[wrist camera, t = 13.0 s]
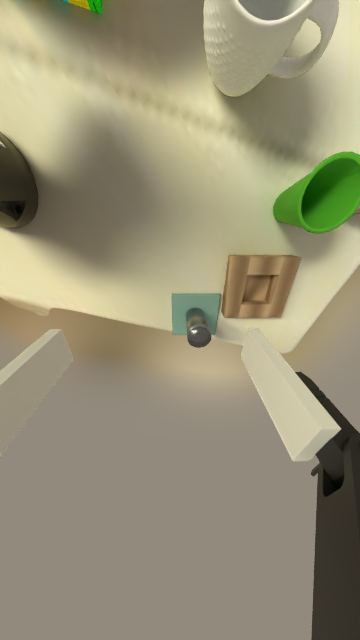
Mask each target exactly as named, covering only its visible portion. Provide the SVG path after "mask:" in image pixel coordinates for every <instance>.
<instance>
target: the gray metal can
mask: <svg viewBox="0 0 360 640" xmlns="http://www.w3.org/2000/svg"><path fill="white" fill-rule="evenodd" d="M185 318H186V328H187V338H188V342H189V343H190V345H192V346H194V347H204V346H206V345H207V344H208V343H209V342H210V341H211V334H210V331H209V327H208V324H207V321H206V318H205V315H204V312H203V311H202V310H201V309H200V308H191V309H189V310H188V311H187V312H186V315H185Z"/></svg>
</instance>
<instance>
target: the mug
mask: <svg viewBox="0 0 360 640" xmlns="http://www.w3.org/2000/svg"><path fill="white" fill-rule="evenodd" d="M338 11H339V2H338V0H204V9H203V13H204V25H203V29H204V41H205V51H206V59H207V62H208V68H209V71H210V75H211V77H212V79H213V83H214V84H215V85H216V87H217V88H218V89H219V90H220V91H221V92H222V93H223V94H225V95H227V96H231V97H233V96H237V97H238V96H240V95H244V94H245V93H247V92H249V91H250V90H251V89H253V88H254V87H255V86H256V85H258V84H259V83H260V82H261V81H262V80H263V79H264V78H265V77H266V76H267V74H270V75H273V76H275V77H278V78H294V77H298V76H300V75H302V74H304V73H305V72H307V71H308V70H309V69H310V68H311V67H312V66H313V65H314V64H315V63H316V62H317V61H318V59H319V58H320V57H321V55H322V54H323V52H324V50H325V49H326V47H327V45H328V43H329V41H330V39H331V36H332V34H333V31H334V29H335V25H336V22H337V17H338ZM306 18H308V19H310V20H311V21H313V22H315V23H316V24H317V25H318V26H319V27H320V30H321V41H320V43H319V44H318V45H317V47H316V48H315V49H314V50H313V51H311V52H310V53H308V54H307V55H304V56H301V57H296V58H288V57H283V54H284V53H285V51H286V49H287V48H288V46H289V45H290V44H291V43H292V41H293V39H294V37H295V36H296V34H297V33H298V31H299V30H300V28H301V26H302V24H303V23H304V21H305V19H306Z"/></svg>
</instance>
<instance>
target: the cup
mask: <svg viewBox="0 0 360 640" xmlns="http://www.w3.org/2000/svg"><path fill="white" fill-rule="evenodd" d="M359 205H360V155H359V154H356V153H354V152H341V153H337V154H334V155H332V156H331V157H329V158H327V159H325V160H324V161H323V162H322V163H320V164H319V165H318V166H317V167H316V168H315V169H314V170H313V172H311V173H310V174H308V175H307V176H305V177H304V178H303V179H301V180H300V181H298V182H297V183H295V184H294V185H293V186H291V187H290V188H288V189H287V190H285V191H284V192H283V193H282V194H280V196H279V197H278V198H277V200H276V202H275V204H274V209H273V212H274V216H275V218H276V219H277V220H278V221H281V222H284V223H288V224H292V225H295V226H299V227H303V228H304V229H305V230H307V231H308V232H312V233H324V232H328V231H330V230H333V229H335V228H337V227H338V226H340V225H341V224H342V223H344V222H345V221H346V220H347V219H348V218H349V217H350V216H351V215H352V214H353V213H354V212H355V211H356V209H357V208H358V207H359Z"/></svg>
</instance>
